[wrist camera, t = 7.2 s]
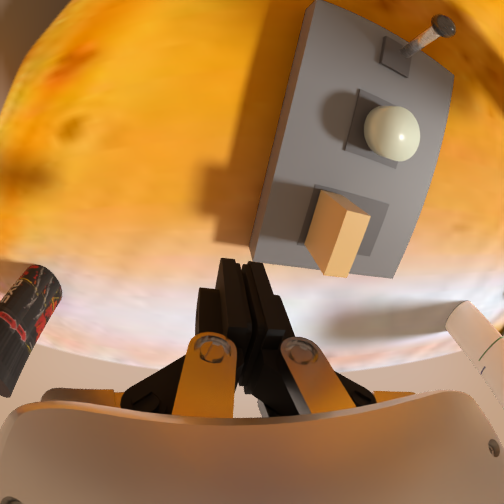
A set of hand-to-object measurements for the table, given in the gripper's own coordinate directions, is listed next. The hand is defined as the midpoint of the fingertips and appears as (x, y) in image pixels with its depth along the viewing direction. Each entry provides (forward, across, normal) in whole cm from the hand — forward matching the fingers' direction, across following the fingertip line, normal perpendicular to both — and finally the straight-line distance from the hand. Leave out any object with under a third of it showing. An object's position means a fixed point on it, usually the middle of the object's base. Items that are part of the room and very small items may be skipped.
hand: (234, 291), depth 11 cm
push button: (+10, -11, -9) cm, 18 cm away
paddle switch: (+12, -8, 0) cm, 14 cm away
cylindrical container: (+14, -46, +13) cm, 49 cm away
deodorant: (+15, +20, +14) cm, 29 cm away
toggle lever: (+10, -12, -17) cm, 23 cm away
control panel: (+14, -12, -7) cm, 20 cm away
